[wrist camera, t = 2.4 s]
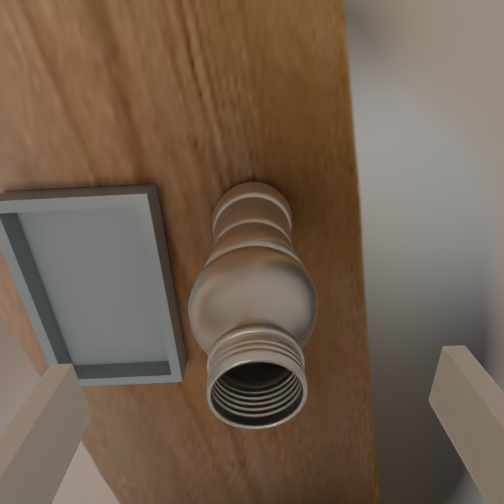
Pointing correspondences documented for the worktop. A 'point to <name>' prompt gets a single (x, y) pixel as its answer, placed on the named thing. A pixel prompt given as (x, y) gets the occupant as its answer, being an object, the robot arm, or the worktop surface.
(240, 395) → the plastic bottle
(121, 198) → the tray
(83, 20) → the worktop surface
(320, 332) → the worktop surface
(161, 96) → the worktop surface
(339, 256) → the worktop surface
